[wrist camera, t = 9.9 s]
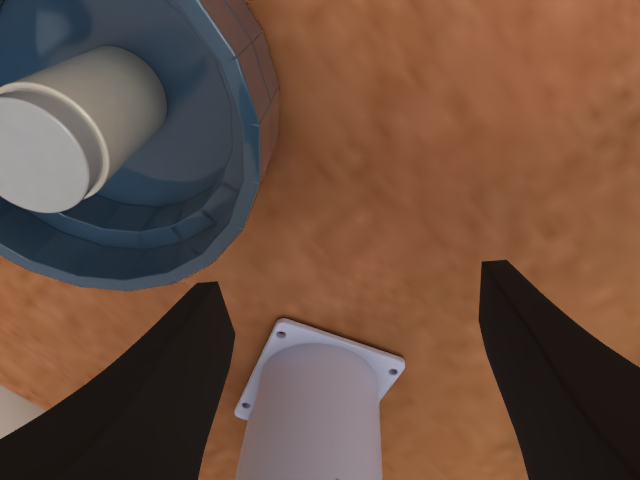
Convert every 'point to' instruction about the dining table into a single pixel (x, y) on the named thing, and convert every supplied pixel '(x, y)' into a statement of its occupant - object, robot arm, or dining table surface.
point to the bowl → (163, 149)
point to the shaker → (75, 126)
